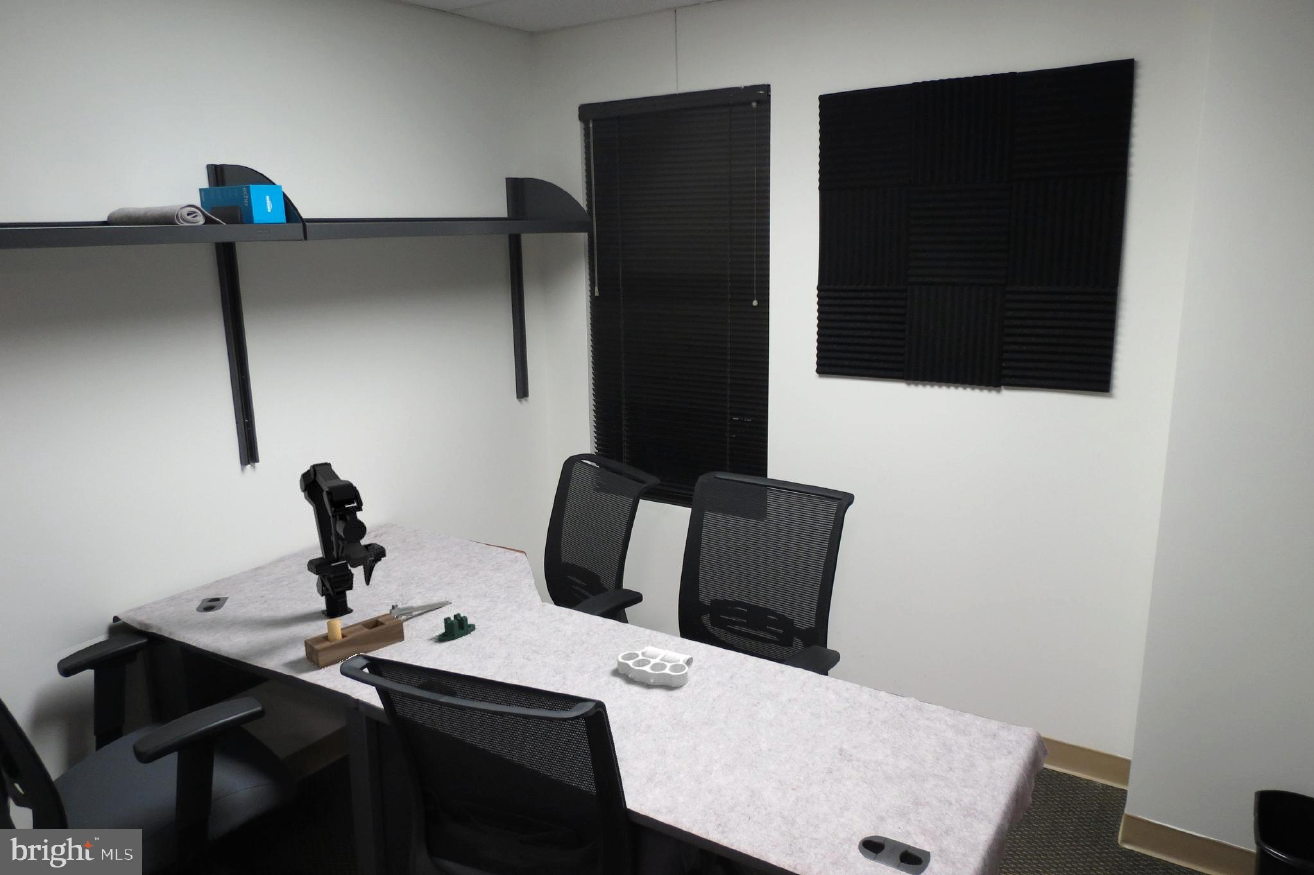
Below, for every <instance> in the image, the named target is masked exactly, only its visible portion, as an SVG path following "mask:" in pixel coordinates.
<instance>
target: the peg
mask: <svg viewBox="0 0 1314 875" xmlns="http://www.w3.org/2000/svg"><path fill="white" fill-rule="evenodd" d="M326 627H327V632H328V638H329V642H330V643H331V642H334V641H337V640H340V639H342V636H341V628H342V627H341V620H340V619H337V618H335V619H334V618H332V619H330V620H328V621H327V622H326Z"/></svg>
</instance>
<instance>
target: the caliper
mask: <svg viewBox="0 0 1314 875" xmlns="http://www.w3.org/2000/svg"><path fill="white" fill-rule="evenodd" d="M450 603H451V604H453V602H452V601H449V600H447V599H444V600H440V601H435V602H429V603H423V604H418V605H410V604H409V605H405V606H399V604H397V603H395V605H394V604H391V608H390V609H389V613H388V614H390V615H392V616H394V617H395V618H397V619H399V620H401V621H402V619H403V617H408V618H409V616H413V614H414V613H419V612H423V611H424V612H425V611H428V610H432V609H439V608H444V607H446V605H447V606H449V604H450ZM451 604H450V605H451ZM443 606H444V607H443Z"/></svg>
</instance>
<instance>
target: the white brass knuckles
mask: <svg viewBox="0 0 1314 875" xmlns="http://www.w3.org/2000/svg"><path fill="white" fill-rule="evenodd" d="M616 662H617V671H618V673H620V674H622V675H623V674H624V675H627V676H628V678H630V679H631V680H633V681H635V682H643V683H646V684H648V685H651V686H663V685H664V686H668V687H669V686H670V687H672V688H677V687H678V688H679V687H683V686H685V685H687V684H688V683H689V681H690V680H689V676H690V675H689V669H690V668H691V666H692V665H693V664H694V657H693V656H691V655H688V654H687V655H686V654H682V653H678V652H673V651H671V650H666V649H661V648H657V647H654V646H650V645H649V646H646V647H644V648H643V649H642V650H639V651H626V652H622V653H620V654H619V655H618V656H617V659H616Z"/></svg>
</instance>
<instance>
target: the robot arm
mask: <svg viewBox="0 0 1314 875" xmlns="http://www.w3.org/2000/svg"><path fill="white" fill-rule="evenodd" d="M299 488H300V491H301V493H302V494H303V496H304V499H305V500H306V502H307V503H308V504H309V505H310V506H311V507H312V509H313V510H312V512H313V515H314V519H315V527H316V530H317V531H316V532H317V536H318V543H319V545H320V551H321V556H319V557H315V558H311V559H308V561H307V562H306V566H307V572H310V573H311V574H313V575H315V576H317V579H316V585H315V587H316V592H317V593H318V595H319V596H320V597H321V598H324V603H325V604H324V605H325V608H324V609H322V610H321V613H322V614H323V615H325V616H327V618H330V619H334V618H335V619H336V618H338V617H341V616H344V615H348V614H350V613H353V612H354V609H353V608H351V607H350V606H349V604H348V594H347V592H349V591H354V577H355V573H354V572H353V571H352V569H357V568H358V567H361V566H362V569H363V570H362V571H363V578H364V582H365V586H370V583H371V581H372V580H371V579H372V576H373V573H374V569H375V567H376V565H377V564H378V563H379V562H382V561H383V560H382V559H384V558H386V557H387V549H386V547H385V546H383V545H381V544H379V543H377V542H369V543H366V544H365V543H364V544H362V542H361V541H363V539H364V538H365V536H366V535H367V526H366V524H365V522H364V521H362V520H361V519H360V518H359V517H358V514H357V513H358V512H363V510H364V509H363V506H364V502H363V499H362V496H361V493H360V491H359V489H358V488H357V486H356V485H354V484H353V483H352V481H350V480H348V479H347V480H346V479H341V477H339V475H338V474H337V473H336V471H335V469H333V466H332V463H331V462H327V461H325V462H318V463H313V464H312V465H309V468H308V469H307V470H306V471H304V472H302V473H301V474H300V478H299Z"/></svg>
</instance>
